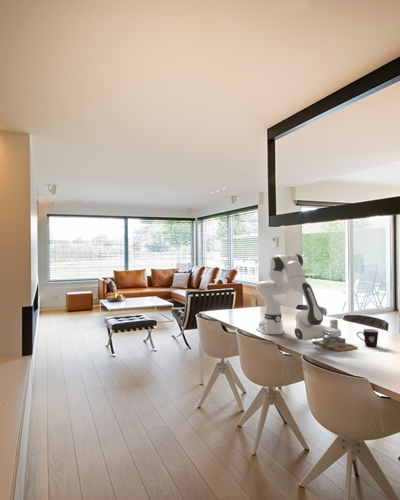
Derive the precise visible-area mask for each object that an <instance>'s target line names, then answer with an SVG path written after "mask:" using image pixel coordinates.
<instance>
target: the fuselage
mask: <svg viewBox="0 0 400 500" xmlns="http://www.w3.org/2000/svg"><path fill="white" fill-rule="evenodd" d="M338 321H339V320H338V319H335V318H334V319H332V318H331V319H330V320H329V324H330V325H329V327H330V328H334V329H339V328H338V327H339V326H338V324H339V322H338ZM338 337H339V336H337V337H330V338H331V339H334V340H335V339H338Z"/></svg>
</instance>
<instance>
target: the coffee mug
mask: <svg viewBox="0 0 400 500" xmlns="http://www.w3.org/2000/svg"><path fill="white" fill-rule="evenodd" d="M359 334H362V335H363V338H364V339H363V338H361V336H359ZM356 336H357V337H358V338H359V339H360V340H362V341H363V342H364V344H365V346H366V347H367V348H373V349H374V348H378V339H379V330H378V329H375V328H374V329H373V328H365V329H364V328H363V331H358V332H357V333H356Z"/></svg>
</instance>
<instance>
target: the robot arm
mask: <svg viewBox="0 0 400 500" xmlns="http://www.w3.org/2000/svg"><path fill="white" fill-rule="evenodd" d="M303 265H304V259H303V256H302V255H300V254H298V253H291V254H290V253H289V254H287V253H286V254H276V255H275V256H272V257H271V259H270V267H269V272H268V277H269V278H270V280H262V281H258V282H257V284H256V285H255V290H256V292H257V294H258V295H259V296H260V297H262V299H263V301H264V304H265V305H264V306H265V313H264V318H263V319H261V321H259V325H258V327H256V328H255V330H256V331H258V332H260V333H262V334H265V335H281V334H284V332H285V330H284V324H283V320H282V318H283V317H282V311H281V307H282V306H281V303H280V302H279V301H278V300H276V299H275V298H274V296H283V295H288V294H289V292H290V291H291V290H292V291H294V292H297V293H300V294H302V295H303V297H304V300H305V302H306V306H307V309H305V310H300V311H298V312H297V313H296V314H295V321H296V322H295V323H296V324H295V328H294V335H295V337H296V338H297V339H298V340H300V341H312V340H318V339H319V340H321V339H323V338H324V337H326V336H330V337H337V336H338V337H341V335H342V331H341V329H340V328H338V329H334V328H330V326H326V325H322V322H323V320H324V313H323V311H322V310H321V308H320V306H319V303H318V302H317V299H316V297H315V294H314V290H313V288H312V286H311V285H310V283H309V282H308V281H307V279H306V276H305V273H304V270H303ZM285 275H286V279H287V280H286V279H285Z"/></svg>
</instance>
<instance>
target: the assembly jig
mask: <svg viewBox="0 0 400 500" xmlns="http://www.w3.org/2000/svg"><path fill="white" fill-rule="evenodd" d="M311 342H312V345H313V344H314V345H316V346H320V347H322V348H325V349H328V350H331V351H334V352H337V353H341V352H347V351H353V350H357V349H358V346H355V345H354V344H352V343H348V342H346V338H345V337H341V336H338V339H335V340H334V339H331V338H330V336H327V335H325V336H324V338H322V339H319V340H315V341H312V340H311Z"/></svg>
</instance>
